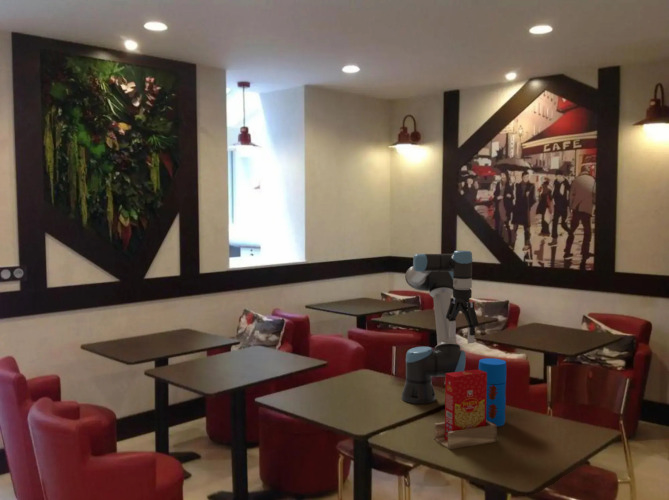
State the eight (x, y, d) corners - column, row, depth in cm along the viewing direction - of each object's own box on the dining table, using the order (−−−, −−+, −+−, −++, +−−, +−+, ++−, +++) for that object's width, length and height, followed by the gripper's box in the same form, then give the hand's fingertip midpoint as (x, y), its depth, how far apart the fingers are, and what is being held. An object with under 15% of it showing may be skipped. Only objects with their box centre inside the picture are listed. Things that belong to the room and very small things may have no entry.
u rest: (434, 439, 229) (434, 423, 228) (480, 432, 236) (480, 416, 236) (449, 449, 219) (449, 433, 219) (496, 441, 226) (496, 425, 226)
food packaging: (452, 444, 222) (453, 377, 221) (444, 439, 227) (445, 373, 225) (485, 438, 228) (487, 372, 226) (477, 433, 233) (478, 369, 231)
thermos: (506, 427, 241) (507, 365, 239) (478, 425, 243) (479, 364, 241) (504, 418, 252) (505, 358, 250) (477, 416, 254) (478, 357, 252)
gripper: (438, 285, 259) (437, 334, 260) (471, 292, 236) (471, 346, 237) (453, 284, 262) (452, 333, 263) (488, 291, 239) (487, 345, 240)
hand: (461, 339), depth 250 cm, fingers open, 13 cm apart
